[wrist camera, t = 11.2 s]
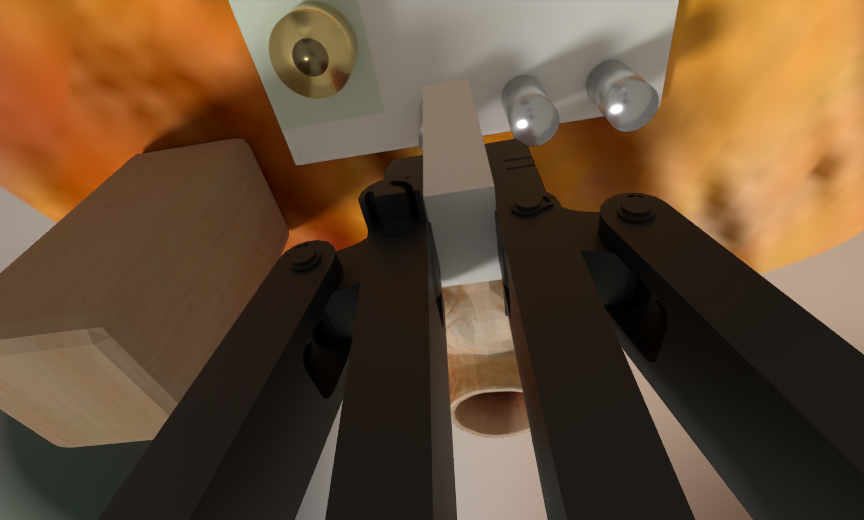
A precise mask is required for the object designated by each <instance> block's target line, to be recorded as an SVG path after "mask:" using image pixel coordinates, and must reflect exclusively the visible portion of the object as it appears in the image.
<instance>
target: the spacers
mask: <svg viewBox="0 0 864 520" xmlns="http://www.w3.org/2000/svg"><path fill="white" fill-rule="evenodd" d="M586 93H587V95H588V97H589V98H590V99H591V101H592V102H593V103H594V104H595V105H596V107H597V108H598V109H599V110H600V112H601V113H602V114H603V115H604V116H605V118H606V119H607V120H608V121H609V122H610V124H611V125H612V126H613V127H614V128H615V129H617V130H619V131H623V132H629V131H634V130H637V129H639V128H641V127H643V126H644V125H646V124H647V123H648V122H649V121H650V120H651V119H652V118H653V116H654V115H655V113H656V111H657V109H658V105H659V96H658V93H657V91H656V90H655V89H654V88H653V87H652V86H651V85H650V84H648V83H647V82H646V81H645V80H644V79H642V78H641V77H640V76H639V75H638V74H636V73H635V72H634V71H633V70H632V69H630V68H629V67H628V66H627V65H626V64H624V63H623V62H621V61H619V60H614V59H612V60H606V61H604V62H602V63H600V64H598V65H597V66H596V67H595V68H594V69H593V70H592V71H591V72H590V74H589V76H588V78H587V81H586ZM501 103H502V106H503V109H504V112H505V114H506V117H507V120H508V122H509V125H510V128H511V131H512V133H513V136H514V137H515V139H518V140H519V141H521V142H522V143H524V144H525V145H527V146H539V145H542V144H544V143H546V142H547V141H549V140H550V139H551V138H552V137H553V136H554V135H555V133H556V131H557V129H558V127H559V121H560V119H559V113H558V111H557V109H556V108H555V106H554V104H553V103H552V101H551V100H550V98H549V96H548V95H547V93H546V91H545V90H544V88H543V87H542V85H541V83H540V82H539V81H538V80H537V79H536V78H535V77H533V76H530V75H519V76H516V77H514V78H513V79H511V80H510V81H509V82H508V83H507V84H506V85H505V87H504V89H503V91H502V94H501ZM418 141H419V146H420V148H421V150H422V152H423V99H422V101H421V103H420V107H419V134H418Z"/></svg>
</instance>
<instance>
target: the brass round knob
mask: <svg viewBox="0 0 864 520" xmlns="http://www.w3.org/2000/svg"><path fill="white" fill-rule="evenodd" d="M357 54H358V46H357V39H356V36H355V33H354V30H353V28H352V26H351V25H350V23H349V22H348V20H347V19H346V18H345V17H344V16H343V15H342V14H341V13H340V12H339V11H338V10H336V9H335V8H333V7H331V6H329V5H327V4H324V3H320V2H307V3H303V4H300V5H298V6H297V7H295V8H294V9H292V10H291V11H290V12H289V13H288V14H286V15H285V16H284V17H283V18H282V19H280V20H279V21H278V22H277V24H276V25H275V26H274V28H273V30H272V32H271V35H270V39H269V56H270V60H271V64H272V66H273V68H274V71H275V72H276V74H277V76H278V77H279V78H280V80H281V81H282V82H283V83H284V84H285V85H286V86H287V87H288V88H289V89H291V90H292V91H294V92H295V93H297V94H299V95H302V96H304V97H308V98H313V99H322V98H327V97H330V96H333V95H334V94H336V93H338V92H339V91H340V90H341V89H342V88H343V87H344V86H345V84H346V83H347V81H348V79H349V77H350V74H351V72H352V70H353V67H354V65H355V62H356V59H357Z"/></svg>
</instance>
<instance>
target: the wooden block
mask: <svg viewBox="0 0 864 520" xmlns="http://www.w3.org/2000/svg"><path fill="white" fill-rule="evenodd" d="M288 237H289V230H288V226H287V224H286V222H285V220H284V218H283V215H282V213H281V211H280V209H279V207H278V205H277V203H276V201H275V198H274V196H273V194H272V192H271V190H270V188H269V186H268V183H267V181H266V179H265V177H264V175H263V173H262V171H261V169H260V166H259V164H258V162H257V160H256V158H255V156H254V154H253V151H252V149H251V147H250V145H249V144H248V143H247V142H246V141H245V140H244V139H239V138H233V139H226V140H220V141H214V142H208V143H202V144H196V145H190V146H184V147H178V148H172V149H166V150H160V151H154V152H148V153H142V154H136V155H135V156H134V157H132V158H131V159H130V160H129V161H127V162H126V163H125V164H124V165H123V166H122V167H121V168H120V169H118V170H117V171H116V172H115V173H114V174H113V175H112V176H110V177H109V178H108V179H107V180H106V181H105V182H104V183H102V184H101V185H100V186H99V187H98V188H97V189H96V190H94V191H93V192H92V193H91V194H90V195H89V196H88V197H87V198H85V199H84V200H83V201H82V202H81V203H80V204H79V205H77V206H76V207H75V208H74V209H73V210H72V211H71V212H69V213H68V214H67V215H66V216H65V217H64V218H63V219H61V220H60V221H59V222H58V223H57V224H56V225H55V226H54V227H52V228H51V229H50V230H49V231H48V232H47V233H46V234H44V235H43V236H42V237H41V238H40V239H39V240H38V241H36V242H35V243H34V244H33V245H32V246H31V247H30V248H29V249H28V250H27V251H25V252H24V253H23V254H22V255H21V256H19V258H17V259H16V260H15V261H14V262H13V263H11V264H10V265H9V266H8V267H7V268H6V269H5V270H4V271H2V272H1V273H0V409H1V410H3V411H4V412H6V413H8V414H9V415H10V416H12V417H13V418H15V419H16V420H18V421H19V422H21V423H23V424H24V425H26V426H27V427H29V428H30V429H32V430H33V431H35V432H36V433H38V434H39V435H41V436H42V437H44V438H46V439H47V440H48V441H50V442H51V443H53V444H55V445H57V446H59V447H81V446H91V445H102V444H112V443H122V442H132V441H142V440H153V439H154V438H155V436H156V435H157V433H158V432H159V430H160V429H161V428H162V426H163V425H164V423H165V422H166V420H167V419H168V418H169V416H170V415H171V413H172V412H173V410H174V409H175V407H176V406H177V405H178V403H179V402H180V400H181V399H182V397H183V396H184V395H185V393H186V392H187V390H188V389H189V387H190V386H191V384H192V383H193V382H194V380H195V379H196V377H197V376H198V374H199V373H200V371H201V370H202V369H203V367H204V366H205V364H206V363H207V361H208V360H209V359H210V357H211V356H212V354H213V353H214V351H215V350H216V348H217V347H218V346H219V344H220V343H221V341H222V340H223V338H224V337H225V336H226V334H227V333H228V331H229V330H230V328H231V327H232V325H233V324H234V323H235V321H236V320H237V318H238V317H239V315H240V314H241V312H242V311H243V310H244V308H245V307H246V305H247V304H248V302H249V301H250V300H251V298H252V297H253V295H254V294H255V292H256V291H257V289H258V288H259V287H260V285H261V284H262V282H263V281H264V279H265V278H266V277H267V275H268V274H269V272H270V271H271V269H272V268H273V266H274V265H275V264H276V262H277V261H278V259H279V258H280V257H281V255H282V252H283V250H284V247H285V245H286V242H287V240H288Z"/></svg>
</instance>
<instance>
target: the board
mask: <svg viewBox="0 0 864 520" xmlns="http://www.w3.org/2000/svg"><path fill="white" fill-rule="evenodd" d="M228 1H229V3H230V6H231V8H232V10H233V13H234V15H235V18H236V20H237V23H238V25H239V27H240V30H241V32H242V35H243V37H244V40H245V42H246V45H247V47H248V49H249V52H250V54H251V57H252V59H253V62H254V64H255V66H256V69H257V71H258V74H259V76H260V79H261V81H262V84H263V86H264V88H265V91H266V93H267V96H268V98H269V101H270V103H271V105H272V108H273V110H274V113H275V115H276V118H277V120H278V123H279V125H280V127H281V130H282V132H283V135H284V137H285V140H286V142H287V144H288V147H289V149H290V152H291V154H292V157H293V159H294V162H295V164H296V166H297V165H303V164H310V163H316V162H322V161H328V160H335V159H341V158H347V157H353V156H359V155H366V154H372V153H378V152H384V151H391V150H397V149H403V148H409V147H416V146H419V141H418V134H419V107H420V103H421V101H422V99H423V86H426V85H432V84H437V83H443V82H449V81H454V80H460V79H466V78H468V79H469V83H470V87H471V91H472V96H473V100H474V104H475V108H476V112H477V116H478V120H479V125H480V129H481V133H482V136H484V135H490V134H496V133H503V132H509V131H511V128H510V125H509V122H508V120H507V117H506V114H505V112H504V109H503V106H502V103H501V94H502V91H503V89H504V87H505V85H506V84H507V83H508V82H509V81H510V80H511V79H513V78H514V77H516V76H519V75H530V76H533V77H535V78H536V79H537V80H538V81H539V82H540V83H541V85H542V87H543V88H544V90H545V91H546V93H547V95H548V96H549V98H550V100H551V101H552V103H553V104H554V106H555V108H556V109H557V111H558V113H559V119H560V121H559V123H565V122H571V121H577V120H584V119H590V118H596V117H602V116H604V115H603V114H602V113H601V112H600V110H599V109H598V108H597V107H596V105H595V104H594V103H593V102H592V101H591V99H590V98H589V97H588V95H587V93H586V81H587V78H588V76H589V74H590V72H591V71H592V70H593V69H594V68H595V67H596V66H597V65H598V64H600V63H602V62H604V61H606V60H612V59H614V60H619V61H621V62H623V63H624V64H626V65H627V66H628V67H629V68H630V69H632V70H633V71H634V72H635V73H636V74H638V75H639V76H640V77H641V78H642V79H644V80H645V81H646V82H647V83H648V84H650V85H651V86H652V87H653V88H654V89H655V90H656V91H657V93H658V96H659V105H658V107H660V103H661V98H662V92H663V87H664V81H665V75H666V70H667V64H668V59H669V53H670V48H671V42H672V36H673V31H674V25H675V20H676V14H677V9H678V3H679V0H228ZM307 2H320V3H324V4H327V5H329V6H331V7H333V8H335V9H336V10H338V11H339V12H340V13H341V14H342V15H343V16H344V17H345V18H346V19H347V20H348V22H349V23H350V25H351V26H352V28H353V30H354V33H355V36H356V39H357V46H358V54H357V59H356V62H355V65H354V67H353V70H352V72H351V74H350V77H349V79H348V81H347V83H346V84H345V86H344V87H343V88H342V89H341V90H340V91H339V92H338V93H336V94H334V95H333V96H330V97H327V98H322V99H313V98H308V97H304V96H302V95H299V94H297V93H295V92H294V91H292V90H291V89H289V88H288V87H287V86H286V85H285V84H284V83H283V82H282V81H281V80H280V78H279V77H278V76H277V74H276V72H275V71H274V68H273V66H272V64H271V60H270V56H269V39H270V35H271V32H272V30H273V28H274V26H275V25H276V24H277V22H278V21H279V20H280V19H282V18H283V17H284V16H285V15H286V14H288V13H289V12H290V11H291V10H292V9H294V8H295V7H297V6H298V5H300V4H303V3H307Z"/></svg>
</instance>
